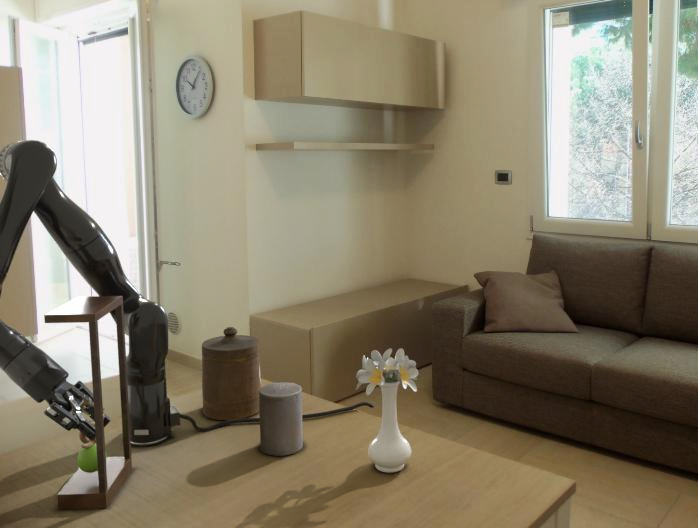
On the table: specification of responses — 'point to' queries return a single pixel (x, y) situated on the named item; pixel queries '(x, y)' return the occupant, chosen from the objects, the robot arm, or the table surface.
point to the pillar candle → (280, 418)
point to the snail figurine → (88, 453)
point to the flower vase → (388, 406)
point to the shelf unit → (98, 407)
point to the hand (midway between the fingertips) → (101, 430)
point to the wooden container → (230, 376)
